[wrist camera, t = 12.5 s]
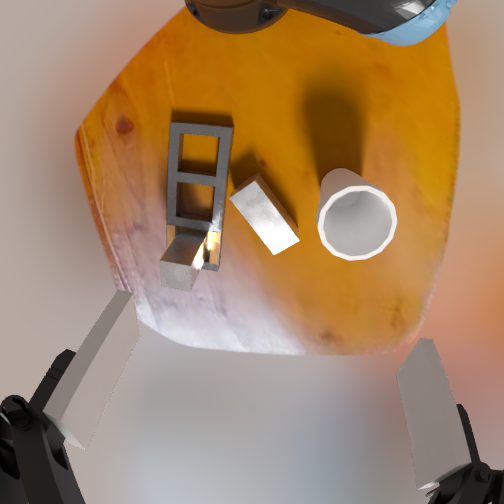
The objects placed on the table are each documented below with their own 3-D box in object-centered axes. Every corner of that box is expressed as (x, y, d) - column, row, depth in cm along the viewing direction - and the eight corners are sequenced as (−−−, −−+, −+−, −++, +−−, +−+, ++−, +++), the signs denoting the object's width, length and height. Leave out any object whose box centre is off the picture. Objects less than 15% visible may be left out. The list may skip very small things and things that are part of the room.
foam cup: (327, 225, 47) (339, 272, 36) (298, 177, 44) (302, 211, 33) (379, 198, 44) (407, 238, 33) (353, 147, 40) (378, 170, 29)
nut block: (234, 188, 46) (229, 198, 42) (258, 171, 44) (255, 180, 40) (275, 240, 50) (273, 254, 46) (298, 227, 48) (299, 240, 44)
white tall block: (183, 225, 50) (159, 260, 40) (209, 229, 50) (190, 266, 40) (182, 248, 52) (161, 286, 43) (207, 252, 52) (190, 292, 42)
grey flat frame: (175, 120, 41) (170, 122, 39) (234, 126, 41) (231, 128, 39) (171, 256, 53) (167, 262, 52) (219, 265, 53) (217, 272, 51)
